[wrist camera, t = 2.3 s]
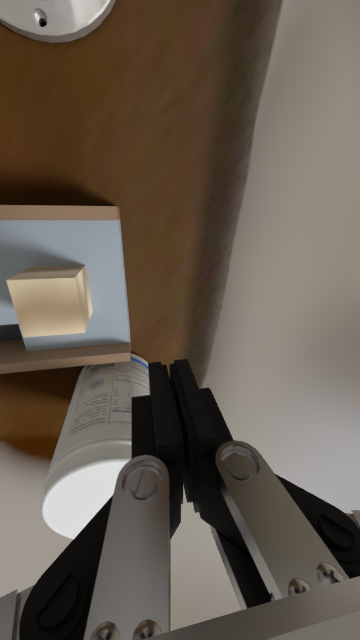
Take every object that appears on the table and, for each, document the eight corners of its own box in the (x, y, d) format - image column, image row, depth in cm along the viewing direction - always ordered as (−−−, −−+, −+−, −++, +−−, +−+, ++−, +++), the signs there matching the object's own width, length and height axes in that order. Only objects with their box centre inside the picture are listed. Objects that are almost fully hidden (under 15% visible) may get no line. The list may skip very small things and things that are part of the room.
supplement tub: (132, 416, 34) (134, 549, 20) (65, 395, 30) (14, 538, 17) (169, 364, 31) (197, 477, 18) (100, 334, 28) (73, 447, 14)
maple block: (30, 266, 21) (6, 280, 17) (85, 265, 21) (74, 277, 17) (42, 314, 22) (23, 337, 18) (92, 311, 23) (84, 332, 19)
